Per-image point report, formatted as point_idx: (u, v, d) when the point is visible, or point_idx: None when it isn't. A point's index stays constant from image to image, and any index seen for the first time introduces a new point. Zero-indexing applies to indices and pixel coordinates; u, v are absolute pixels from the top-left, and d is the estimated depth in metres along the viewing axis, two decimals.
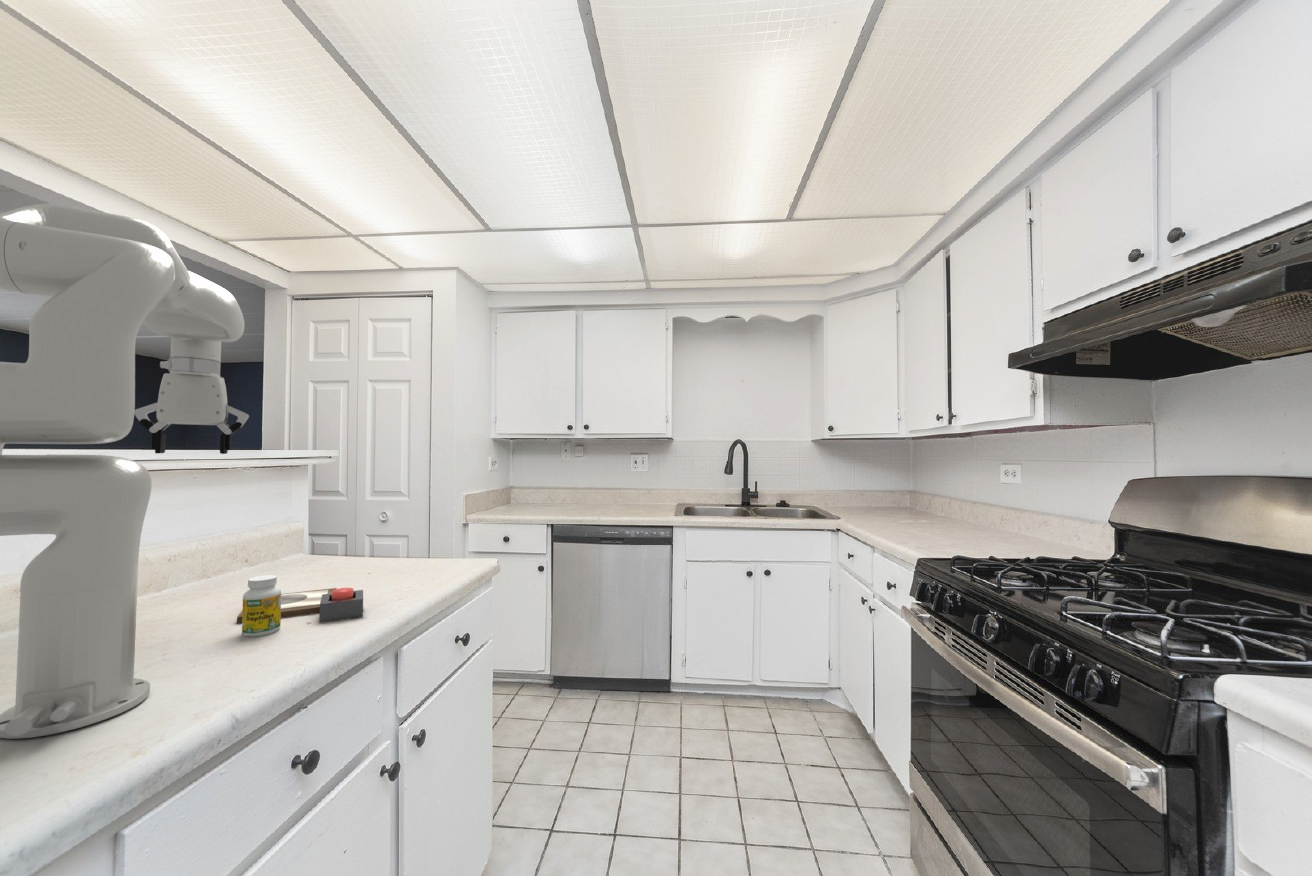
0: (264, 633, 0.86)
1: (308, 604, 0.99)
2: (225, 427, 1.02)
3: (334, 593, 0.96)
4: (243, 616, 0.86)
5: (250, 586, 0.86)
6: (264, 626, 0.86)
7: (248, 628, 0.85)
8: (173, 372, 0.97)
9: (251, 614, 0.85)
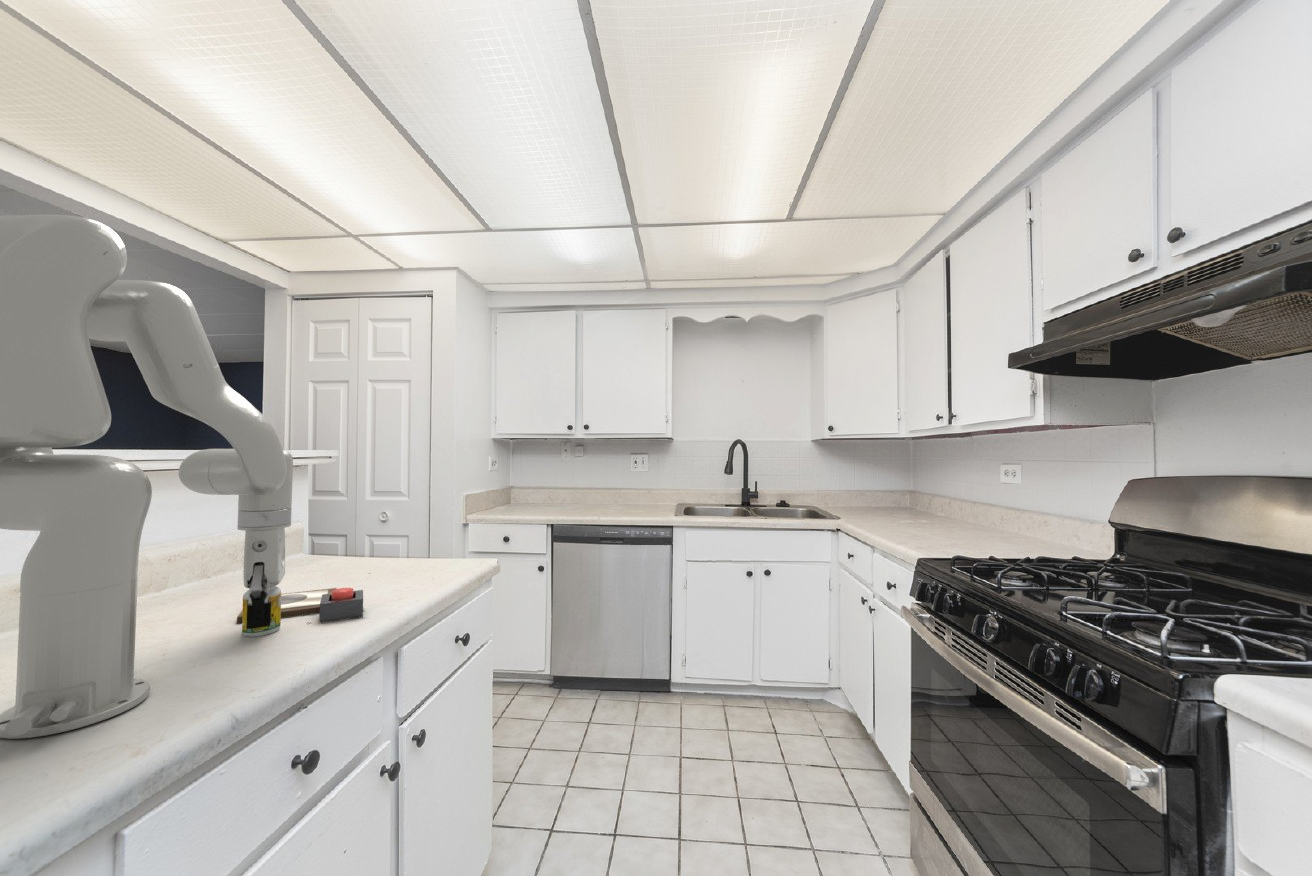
0: (264, 633, 0.86)
1: (308, 604, 0.99)
2: None
3: (334, 593, 0.96)
4: (243, 616, 0.86)
5: None
6: None
7: None
8: (280, 527, 0.87)
9: None
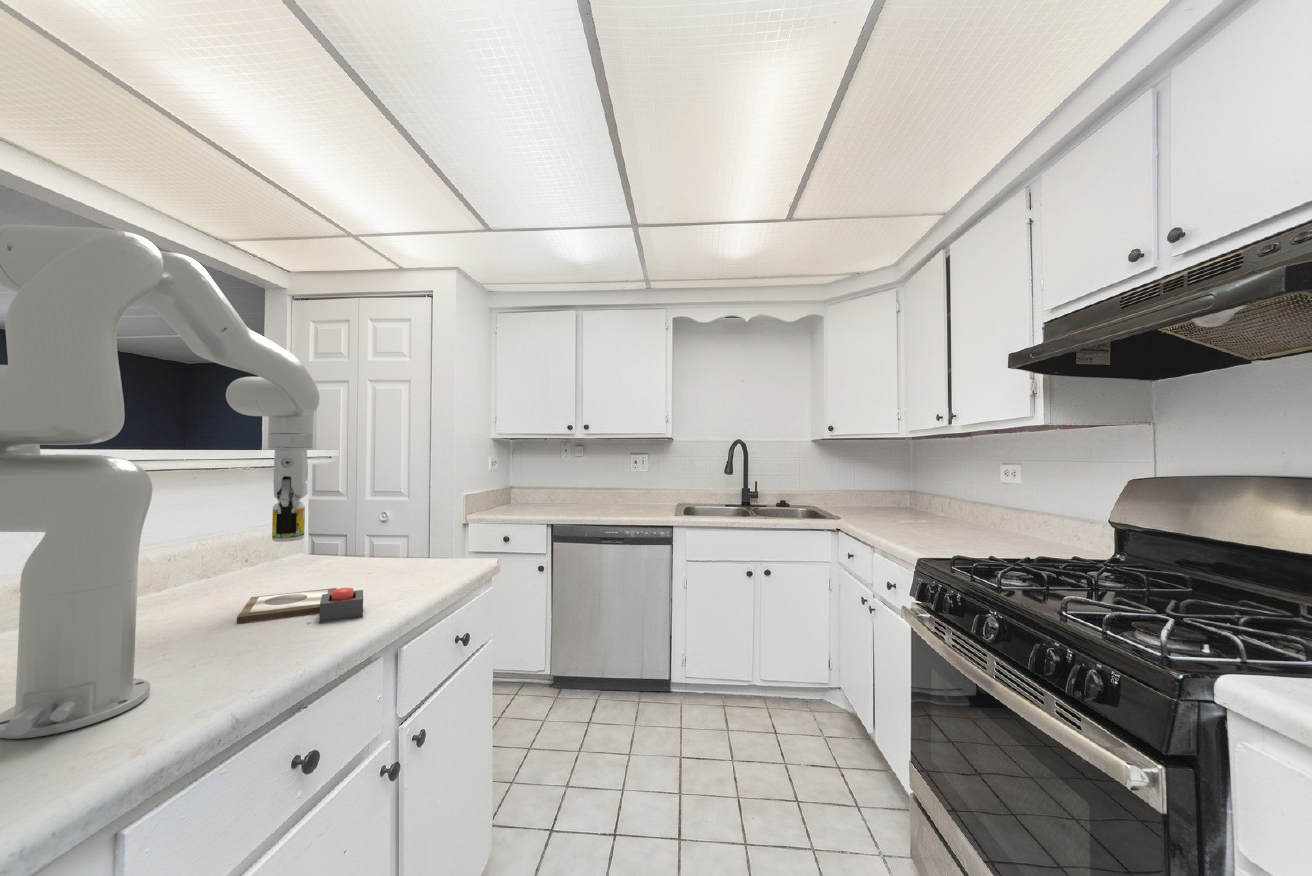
0: (291, 539, 1.00)
1: (308, 604, 0.99)
2: None
3: (334, 593, 0.96)
4: (273, 524, 0.99)
5: None
6: (291, 533, 1.00)
7: None
8: (304, 448, 1.01)
9: None
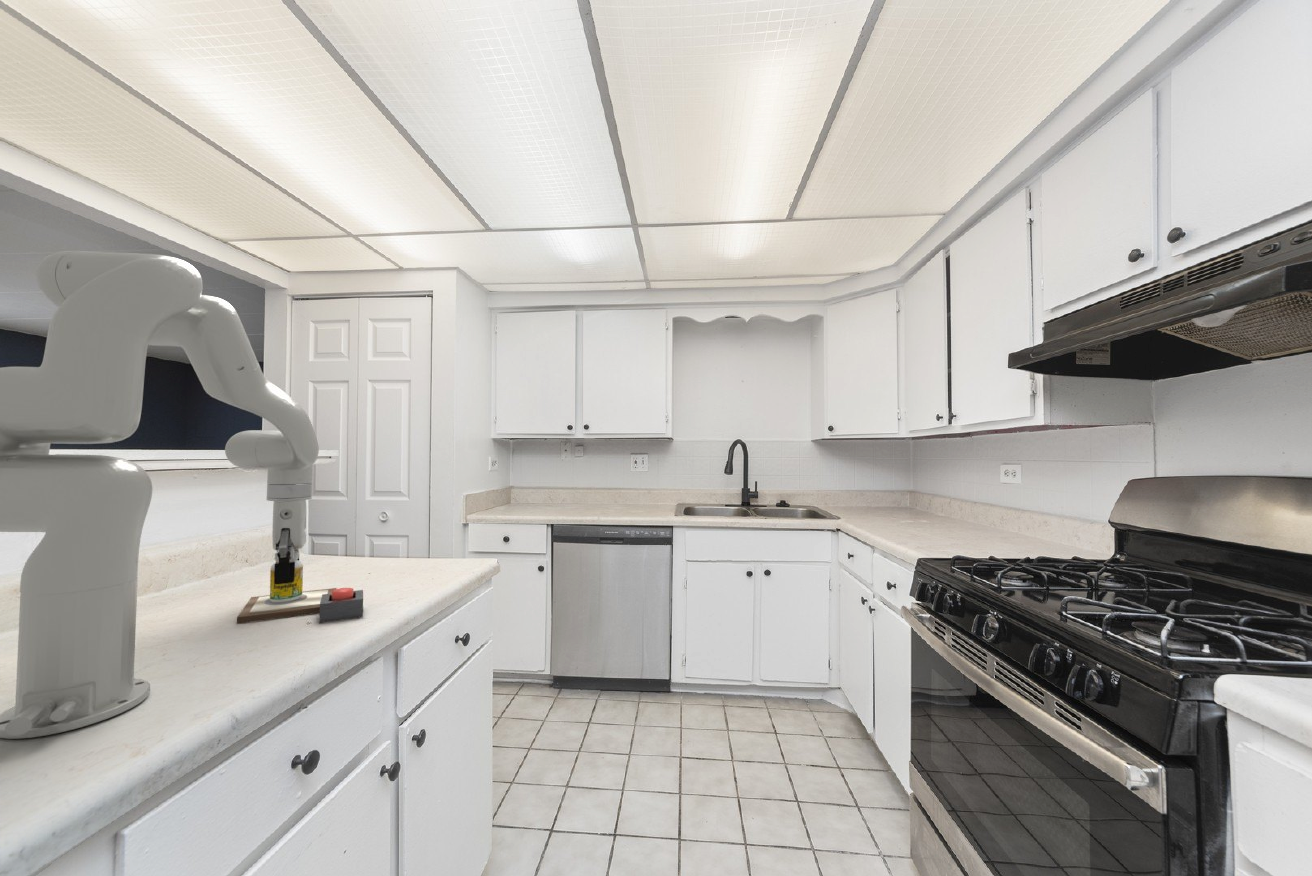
0: (289, 600, 1.00)
1: (308, 604, 0.99)
2: None
3: (334, 593, 0.96)
4: (271, 585, 0.99)
5: None
6: (289, 593, 1.00)
7: (275, 595, 0.99)
8: (303, 498, 1.01)
9: None
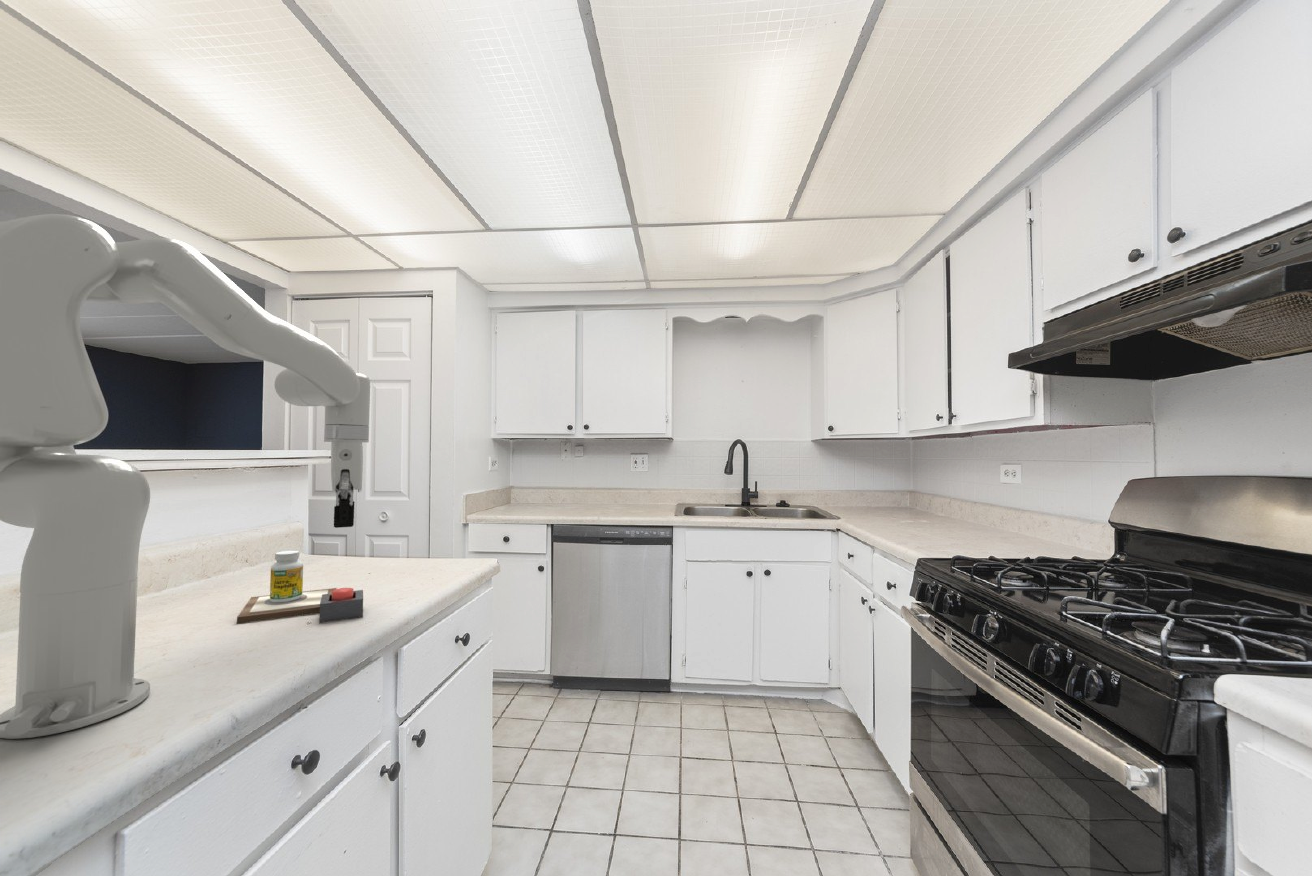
0: (289, 599, 1.00)
1: (308, 604, 0.99)
2: None
3: (334, 593, 0.96)
4: (271, 585, 0.99)
5: (277, 559, 1.00)
6: (289, 593, 1.00)
7: (275, 594, 0.99)
8: (361, 441, 0.97)
9: (277, 583, 0.99)
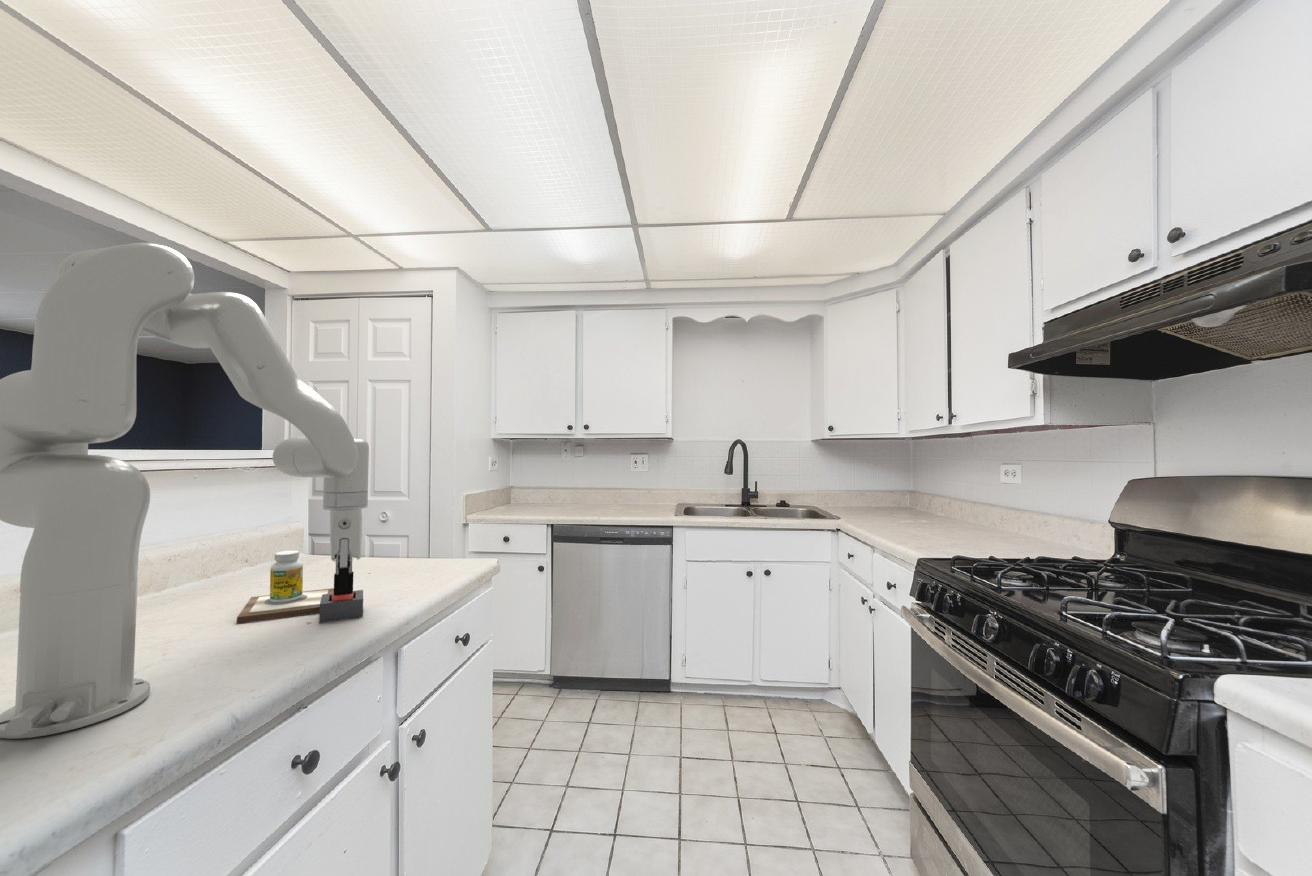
0: (288, 600, 1.00)
1: (308, 604, 0.99)
2: None
3: (334, 597, 0.96)
4: (271, 585, 0.99)
5: (276, 559, 1.00)
6: (289, 594, 1.00)
7: (274, 595, 0.99)
8: (360, 507, 0.97)
9: (277, 583, 0.99)
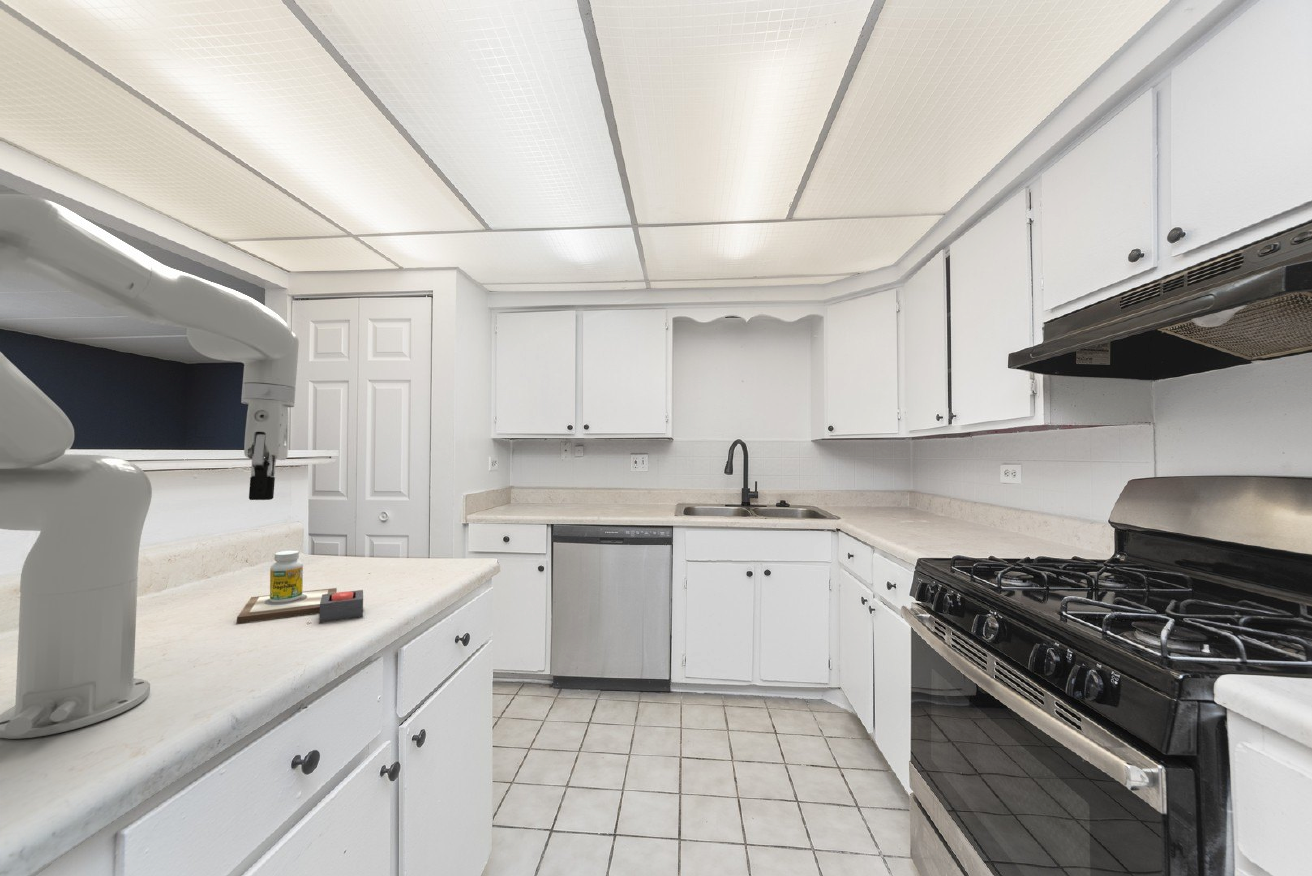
0: (288, 600, 1.00)
1: (308, 604, 0.99)
2: (274, 469, 0.90)
3: (334, 597, 0.96)
4: (270, 585, 0.99)
5: (276, 559, 1.00)
6: (288, 594, 1.00)
7: (274, 595, 0.99)
8: (283, 402, 0.88)
9: (277, 583, 0.99)
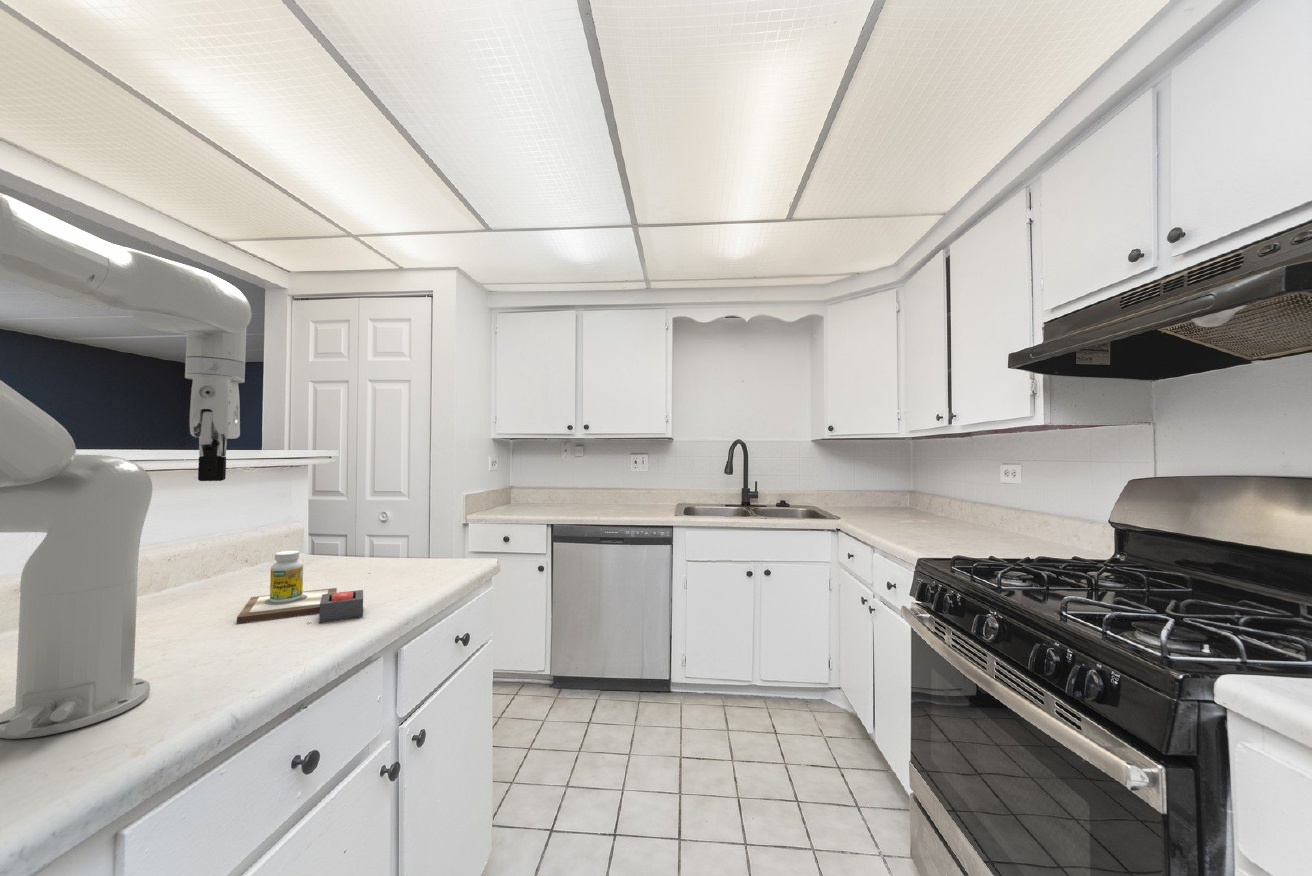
0: (288, 600, 1.00)
1: (308, 604, 0.99)
2: (225, 448, 0.85)
3: (334, 597, 0.96)
4: (271, 585, 0.99)
5: (276, 559, 1.00)
6: (288, 594, 1.00)
7: (274, 595, 0.99)
8: (231, 378, 0.82)
9: (277, 583, 0.99)
